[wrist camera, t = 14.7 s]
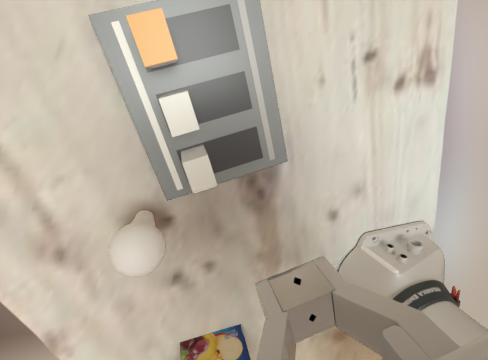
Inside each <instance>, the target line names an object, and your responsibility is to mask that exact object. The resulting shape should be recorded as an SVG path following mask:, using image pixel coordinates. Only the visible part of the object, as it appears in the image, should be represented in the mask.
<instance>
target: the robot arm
mask: <svg viewBox="0 0 488 360" xmlns="http://www.w3.org/2000/svg"><path fill="white" fill-rule="evenodd" d="M444 271H445V260H444V255H443V252H442V251H441V249H440V248H439V247H438V246H437V245H436V244H435V243H434V242H433V241H432V232H431V229H430V227H429V225H428V224H427V223H425V222H424V221H419V222H414V223H409V224H405V225H400V226H395V227H390V228H386V229H381V230H376V231H372V232H367V233H365V234H364V235H363V236H362V237H361V238H360V240H359V242H358V244H357V246H356V247H355V248H354V249H353V251H352V252H351V253H350V254H349V255H348V256H347V257H346V258H345V260H344V261H343V263H342V265H341V267H340V269H339V272H337V271H336V269H335V268H334V267H333V266H332V265H331V264H330V263H329V261H328V260H327V259H326V258H325V257H323V256H322V257H320V258H317V259H315V260H312V261H310V262H307V263H305V264H302V265H300V266H297V267H295V268H292V269H290V270H288V271H286V272H283V273H280V274H277V275H275V276H272V277H269V278H267V279H264V280H262V281H259V282H256V283H255V286H256V289H257V293H258V296H259V300H260V303H261V306H262V309H263V312H264V315H265V318H266V320H265V324H264V328H263V333H262V338H261V342H260V347H259V352H258V356H257V360H295V350H296V343H298V342H300V341H302V340H304V339H306V338H308V337H310V336H312V335H314V334H317V333H319V332H321V331H324V330H326V329H329V328H331V327H334V326H336V327H337V328H339V329H341V330H342V331H344V332H345V333H347V334H348V335H350V336H351V337H353V338H354V339H356V340H358V341H359V342H361V343H362V344H364V345H365V346H367V347H368V348H370V349H371V350H373V351H374V352H376V353H378V354H379V355H381V356H382V357H383V360H488V329H486V328H485V327H483V326H482V325H480V324H479V323H478V322H477V321H475V320H474V319H473V318H471V317H470V316H469V315H468V314H466V313H465V312H464V311H462V310H461V309H459V306H460V301H459V295H460V290H458V292H457V294H456V288H455V286H453V287H452V293H451V294H450V293H449V292H448V290H447V288H446V287H445V286H444Z"/></svg>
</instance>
